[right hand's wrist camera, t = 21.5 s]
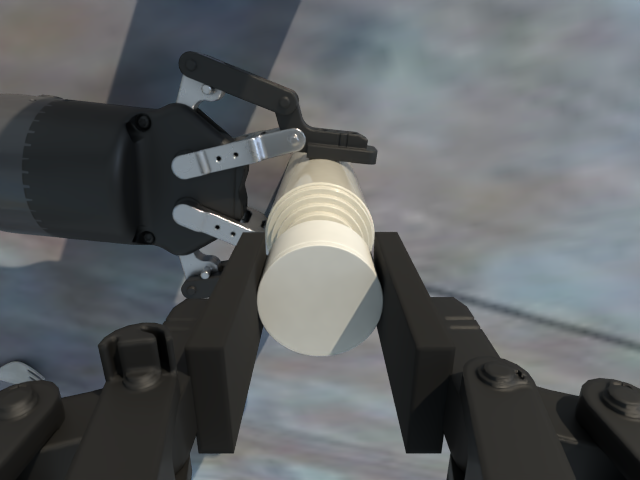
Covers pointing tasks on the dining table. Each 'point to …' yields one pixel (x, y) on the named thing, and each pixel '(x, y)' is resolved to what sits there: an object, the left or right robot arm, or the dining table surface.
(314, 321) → the cap
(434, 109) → the dining table surface
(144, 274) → the dining table surface
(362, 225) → the bottle
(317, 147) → the left robot arm
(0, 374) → the fork
